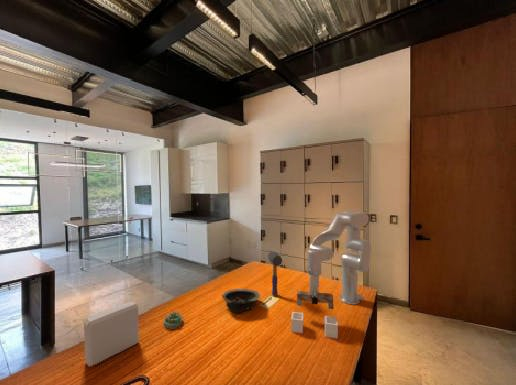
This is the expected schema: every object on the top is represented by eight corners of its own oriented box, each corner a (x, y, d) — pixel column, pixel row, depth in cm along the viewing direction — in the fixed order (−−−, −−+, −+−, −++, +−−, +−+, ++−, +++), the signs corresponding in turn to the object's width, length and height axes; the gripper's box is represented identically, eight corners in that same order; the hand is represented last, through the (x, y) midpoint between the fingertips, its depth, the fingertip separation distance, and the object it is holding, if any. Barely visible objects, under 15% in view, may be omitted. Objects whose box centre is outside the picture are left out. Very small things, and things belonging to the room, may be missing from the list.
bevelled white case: (133, 336, 120) (132, 298, 119) (140, 343, 115) (139, 303, 114) (83, 361, 104) (82, 317, 103) (89, 370, 99) (87, 324, 98)
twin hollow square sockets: (336, 330, 125) (336, 317, 125) (337, 338, 119) (337, 325, 118) (292, 324, 131) (292, 311, 130) (291, 331, 124) (291, 318, 124)
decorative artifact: (166, 319, 135) (161, 330, 125) (165, 307, 135) (161, 317, 125) (183, 317, 137) (181, 328, 127) (183, 306, 137) (180, 315, 127)
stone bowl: (228, 320, 134) (228, 304, 134) (217, 303, 156) (217, 289, 157) (267, 310, 144) (266, 295, 144) (251, 295, 167) (251, 282, 167)
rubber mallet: (282, 299, 159) (283, 255, 157) (272, 300, 157) (272, 256, 155) (276, 290, 171) (277, 250, 169) (267, 291, 169) (267, 250, 167)
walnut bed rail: (332, 305, 134) (332, 293, 133) (333, 309, 130) (333, 296, 130) (297, 302, 138) (297, 290, 138) (297, 305, 135) (296, 293, 135)
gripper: (308, 265, 142) (308, 294, 143) (307, 276, 126) (307, 309, 127) (320, 265, 140) (321, 295, 142) (321, 277, 124) (322, 310, 125)
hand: (314, 301), depth 134 cm, fingers closed on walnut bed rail, 3 cm apart
